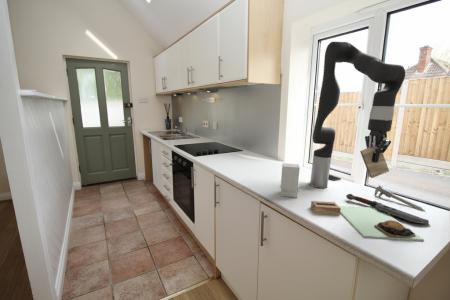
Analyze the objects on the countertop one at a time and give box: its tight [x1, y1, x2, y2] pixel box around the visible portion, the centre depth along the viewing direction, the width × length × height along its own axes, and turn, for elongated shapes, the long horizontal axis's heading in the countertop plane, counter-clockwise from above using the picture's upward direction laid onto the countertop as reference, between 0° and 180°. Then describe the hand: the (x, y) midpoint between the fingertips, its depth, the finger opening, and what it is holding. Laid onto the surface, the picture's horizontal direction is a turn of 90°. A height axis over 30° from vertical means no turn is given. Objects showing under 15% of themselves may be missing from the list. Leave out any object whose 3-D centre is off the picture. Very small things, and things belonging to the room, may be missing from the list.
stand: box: [310, 200, 341, 216], centre depth 96 cm, size 6×10×3 cm, turn 87°
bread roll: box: [374, 220, 416, 238], centre depth 80 cm, size 11×8×4 cm
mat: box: [338, 205, 425, 242], centre depth 88 cm, size 24×20×1 cm
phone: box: [328, 173, 342, 182], centre depth 145 cm, size 8×1×15 cm
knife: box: [345, 193, 430, 224], centre depth 98 cm, size 9×2×30 cm
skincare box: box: [280, 162, 300, 199], centre depth 111 cm, size 8×7×16 cm
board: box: [359, 146, 390, 179], centre depth 90 cm, size 2×7×12 cm, turn 87°
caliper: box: [374, 185, 426, 212], centre depth 107 cm, size 20×1×6 cm, turn 35°
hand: (373, 161), depth 90 cm, fingers closed on board, 1 cm apart
